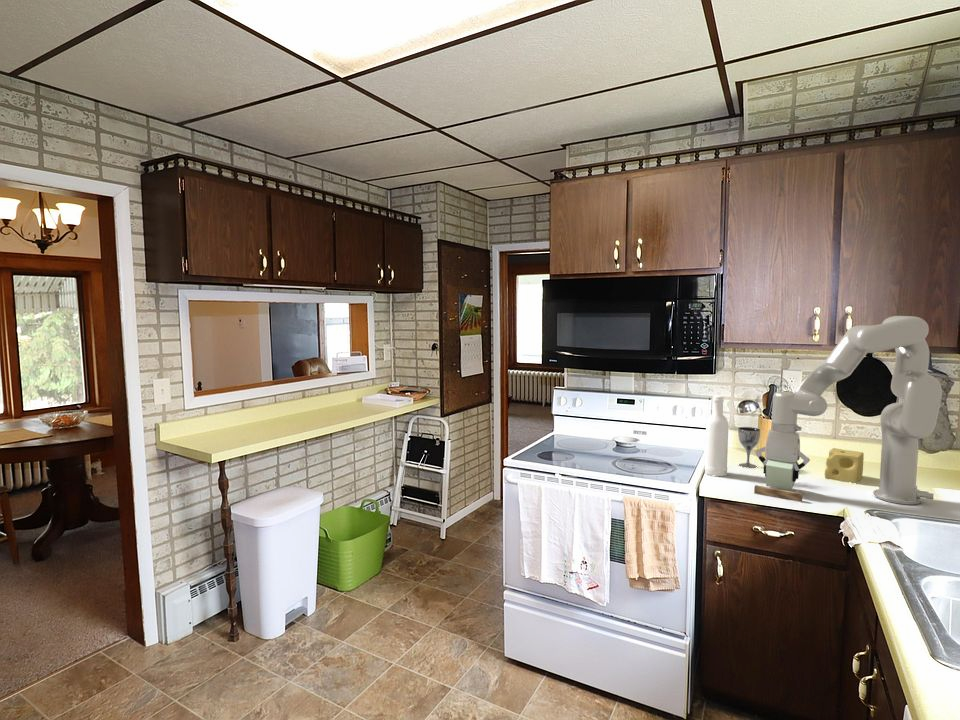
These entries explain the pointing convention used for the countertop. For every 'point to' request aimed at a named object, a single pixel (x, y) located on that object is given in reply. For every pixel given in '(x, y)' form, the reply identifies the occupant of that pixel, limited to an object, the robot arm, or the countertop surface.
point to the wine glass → (748, 442)
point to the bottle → (716, 440)
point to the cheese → (844, 465)
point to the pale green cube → (779, 474)
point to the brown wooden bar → (778, 493)
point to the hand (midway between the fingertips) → (780, 478)
